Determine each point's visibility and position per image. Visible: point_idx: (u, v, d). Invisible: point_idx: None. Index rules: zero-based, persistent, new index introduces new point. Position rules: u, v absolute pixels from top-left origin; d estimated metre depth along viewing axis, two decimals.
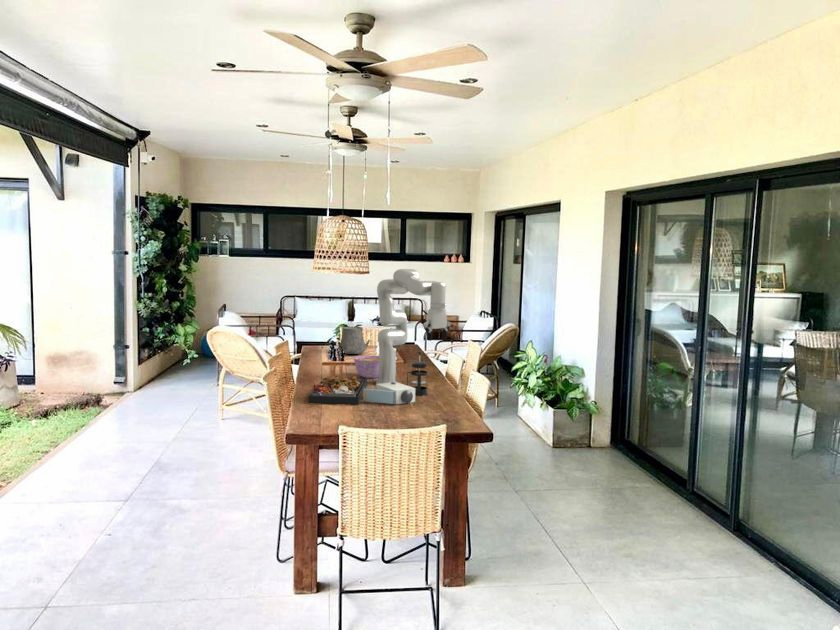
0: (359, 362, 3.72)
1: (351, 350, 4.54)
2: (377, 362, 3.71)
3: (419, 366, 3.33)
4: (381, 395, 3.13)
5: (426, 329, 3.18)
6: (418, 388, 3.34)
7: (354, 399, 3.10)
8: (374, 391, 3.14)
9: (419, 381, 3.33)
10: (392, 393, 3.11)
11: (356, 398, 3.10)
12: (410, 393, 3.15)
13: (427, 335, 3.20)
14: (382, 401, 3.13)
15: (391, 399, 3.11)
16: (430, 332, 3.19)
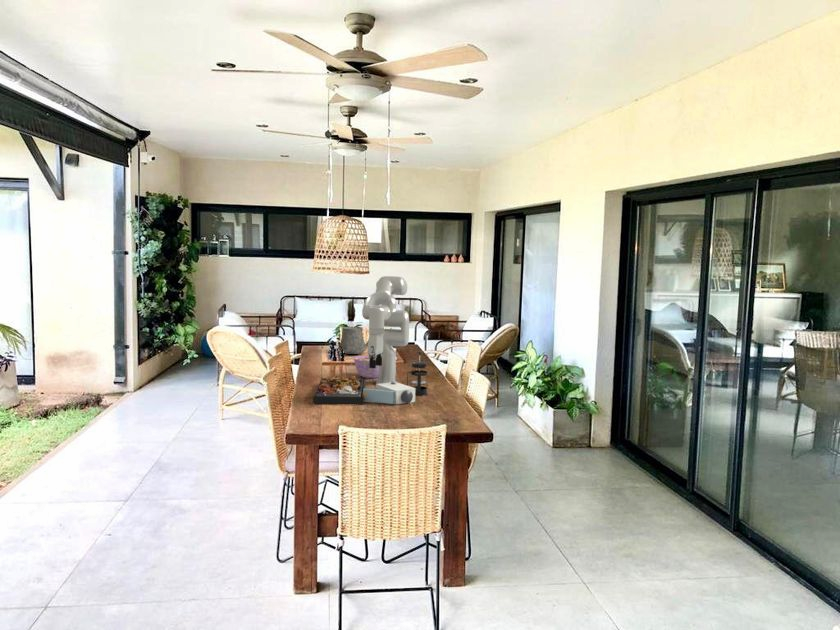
0: (359, 362, 3.72)
1: (351, 350, 4.54)
2: None
3: (419, 366, 3.33)
4: (381, 395, 3.13)
5: (372, 357, 3.10)
6: (418, 388, 3.34)
7: (359, 399, 3.11)
8: (374, 391, 3.14)
9: (419, 381, 3.33)
10: (392, 393, 3.11)
11: (361, 398, 3.11)
12: (410, 393, 3.15)
13: (371, 363, 3.12)
14: (382, 401, 3.13)
15: (391, 399, 3.11)
16: (375, 360, 3.12)
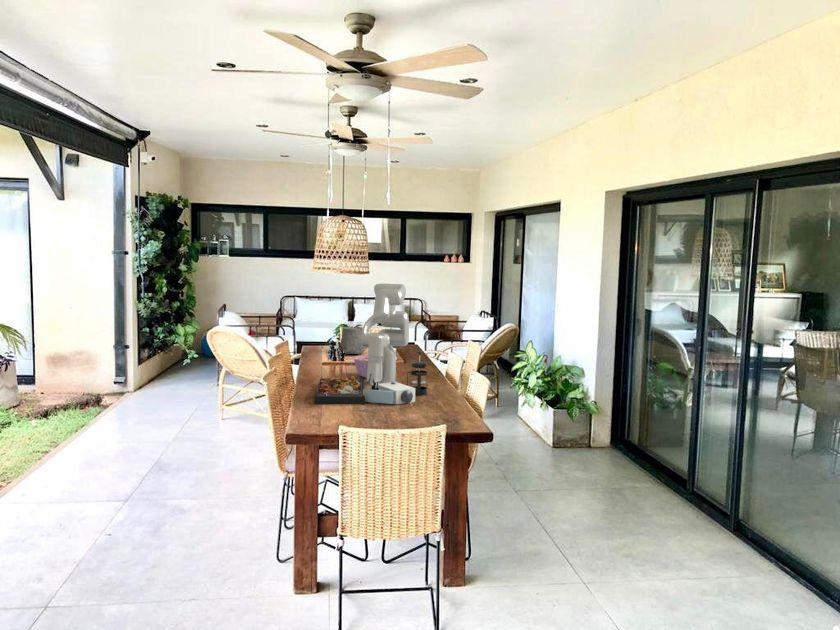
0: (359, 362, 3.72)
1: (351, 350, 4.54)
2: None
3: (419, 366, 3.33)
4: (381, 395, 3.13)
5: (374, 385, 3.14)
6: (418, 388, 3.34)
7: (361, 399, 3.11)
8: (374, 391, 3.13)
9: (419, 381, 3.33)
10: (392, 393, 3.11)
11: (363, 398, 3.11)
12: (410, 393, 3.15)
13: None
14: (382, 401, 3.13)
15: (391, 399, 3.11)
16: (376, 388, 3.16)
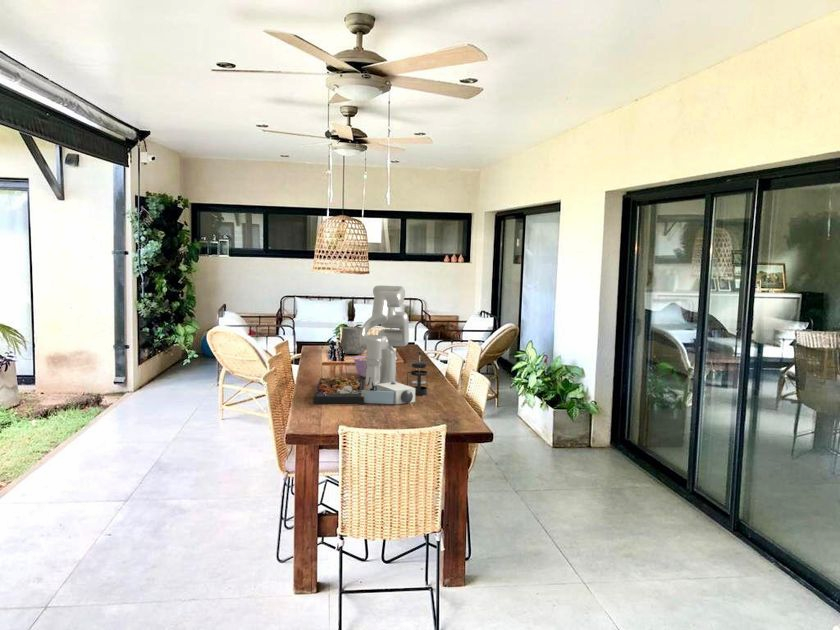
0: (359, 362, 3.72)
1: (351, 350, 4.54)
2: None
3: (419, 366, 3.33)
4: (380, 396, 3.11)
5: (373, 388, 3.13)
6: (418, 388, 3.34)
7: (360, 399, 3.11)
8: (373, 392, 3.12)
9: (419, 381, 3.33)
10: (392, 393, 3.11)
11: (362, 398, 3.11)
12: (410, 393, 3.15)
13: None
14: (381, 402, 3.12)
15: (391, 399, 3.11)
16: (375, 390, 3.14)
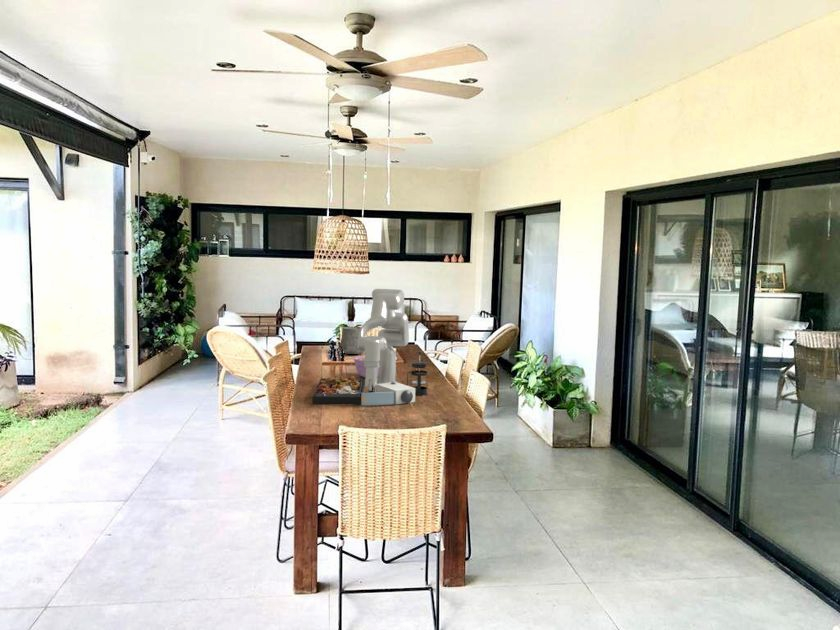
0: (359, 362, 3.72)
1: (351, 350, 4.54)
2: None
3: (419, 366, 3.33)
4: (381, 397, 3.09)
5: (372, 390, 3.09)
6: (418, 388, 3.34)
7: (359, 399, 3.11)
8: (373, 394, 3.08)
9: (419, 381, 3.33)
10: (392, 393, 3.10)
11: None
12: (410, 393, 3.15)
13: None
14: (382, 403, 3.09)
15: (391, 399, 3.10)
16: None
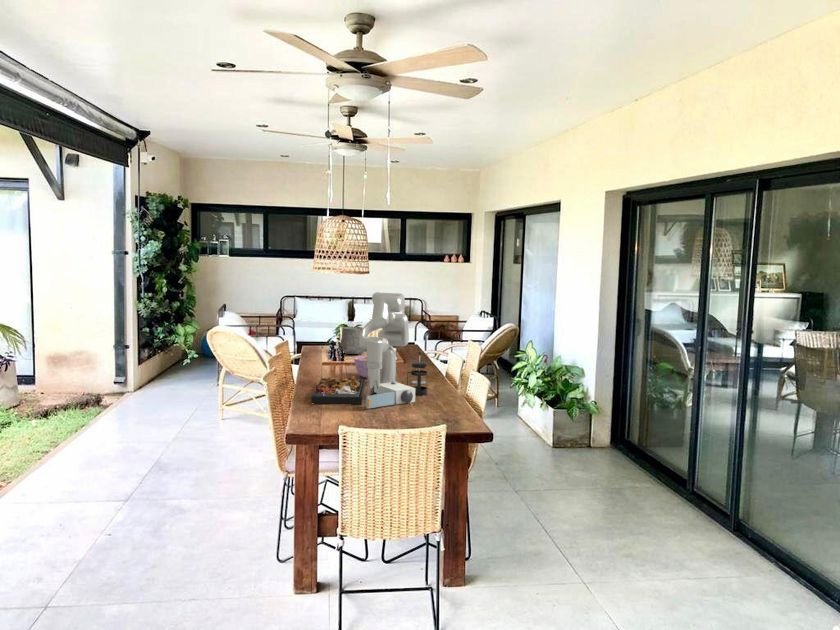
0: (359, 362, 3.72)
1: (351, 350, 4.54)
2: None
3: (419, 366, 3.33)
4: (384, 398, 3.06)
5: (376, 392, 3.04)
6: (418, 388, 3.34)
7: (357, 399, 3.10)
8: (377, 396, 3.04)
9: (419, 381, 3.33)
10: (393, 394, 3.10)
11: (359, 398, 3.10)
12: (410, 393, 3.15)
13: None
14: (385, 404, 3.07)
15: (392, 400, 3.10)
16: None
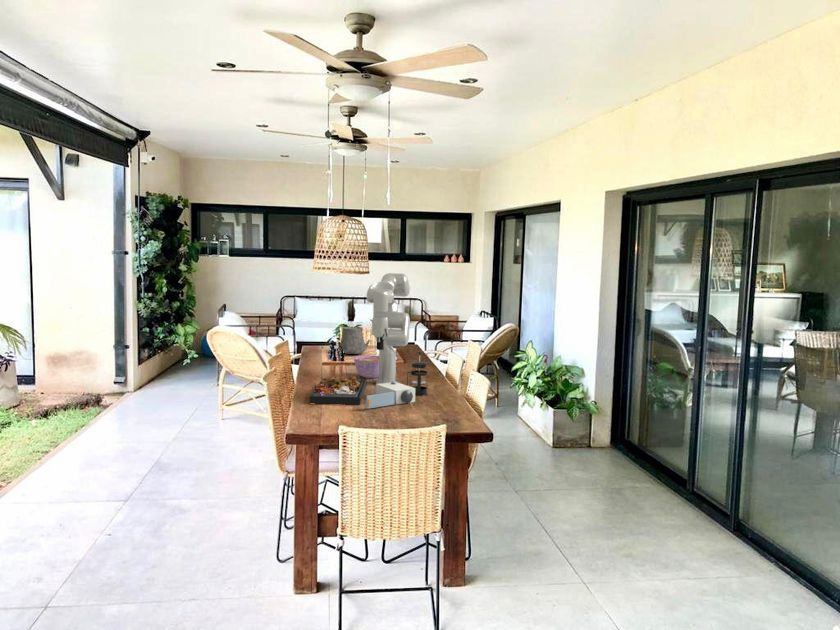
0: (359, 362, 3.72)
1: (351, 350, 4.54)
2: (377, 362, 3.71)
3: (419, 366, 3.33)
4: (384, 398, 3.06)
5: (383, 339, 3.27)
6: (418, 388, 3.34)
7: (356, 399, 3.10)
8: (377, 396, 3.04)
9: (419, 381, 3.33)
10: (393, 394, 3.10)
11: (358, 398, 3.10)
12: (410, 393, 3.15)
13: (381, 345, 3.28)
14: (385, 404, 3.07)
15: (392, 400, 3.10)
16: None
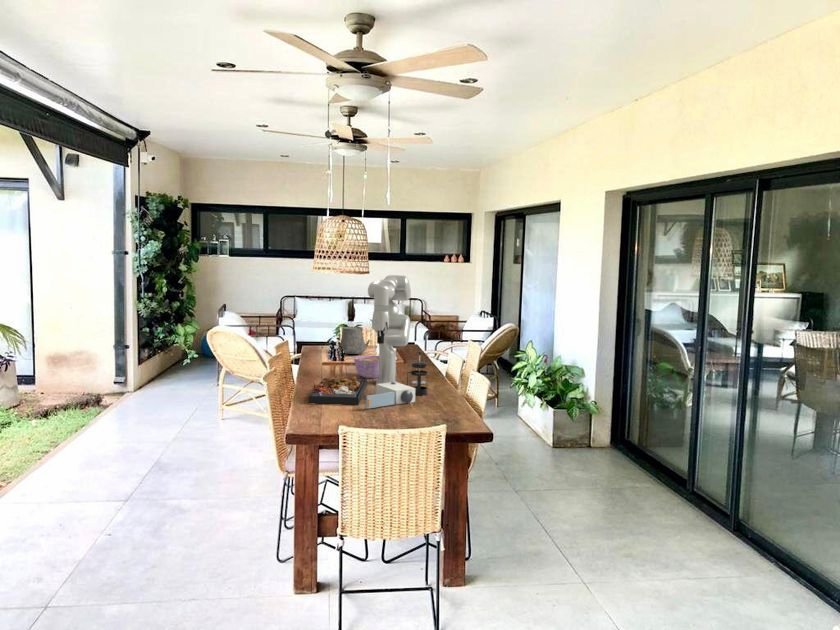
0: (359, 362, 3.72)
1: (351, 350, 4.54)
2: (377, 362, 3.71)
3: (419, 366, 3.33)
4: (384, 398, 3.06)
5: (384, 333, 3.31)
6: (418, 388, 3.34)
7: (354, 399, 3.09)
8: (377, 396, 3.04)
9: (419, 381, 3.33)
10: (393, 394, 3.10)
11: (356, 398, 3.09)
12: (410, 393, 3.15)
13: (381, 339, 3.32)
14: (385, 404, 3.07)
15: (392, 400, 3.10)
16: (383, 335, 3.33)
